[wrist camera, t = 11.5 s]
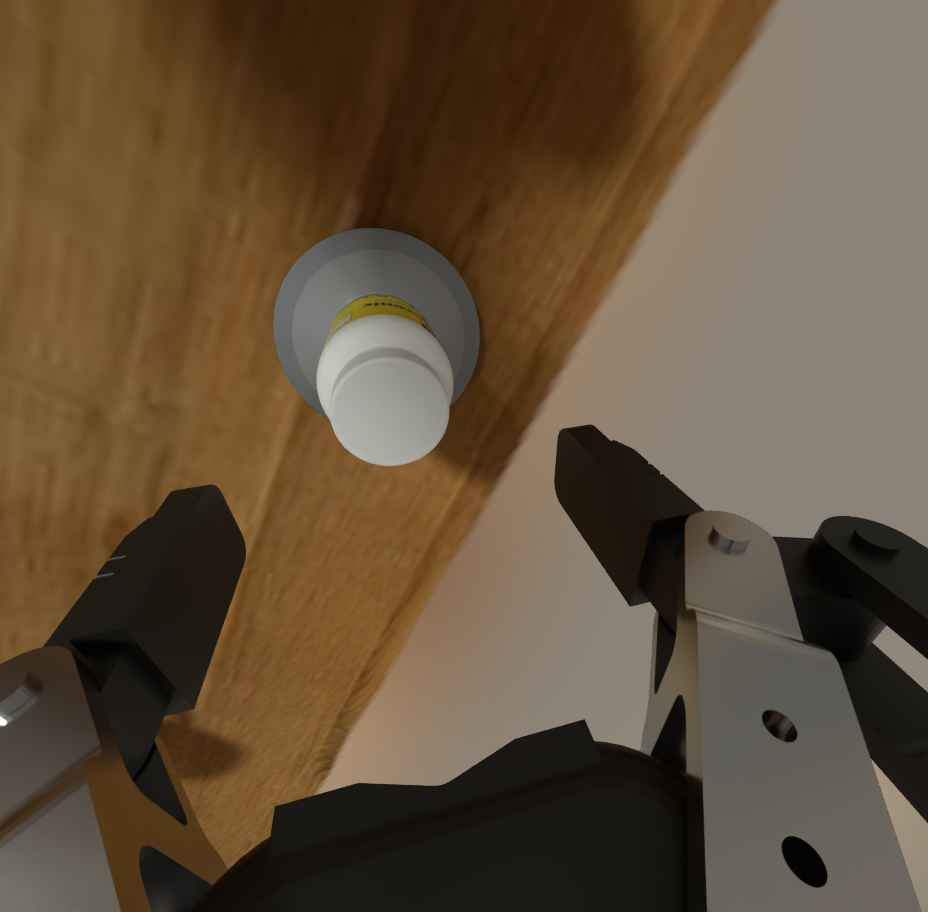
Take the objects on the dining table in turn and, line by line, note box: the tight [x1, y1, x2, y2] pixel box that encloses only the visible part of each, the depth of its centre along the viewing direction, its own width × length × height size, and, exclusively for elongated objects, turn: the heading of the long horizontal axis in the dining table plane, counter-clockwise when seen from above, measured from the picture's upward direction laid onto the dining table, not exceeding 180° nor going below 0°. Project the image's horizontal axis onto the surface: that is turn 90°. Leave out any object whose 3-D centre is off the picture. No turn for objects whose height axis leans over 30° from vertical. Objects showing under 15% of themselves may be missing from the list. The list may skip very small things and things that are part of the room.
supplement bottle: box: [316, 293, 453, 466], centre depth 17 cm, size 5×5×10 cm
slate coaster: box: [273, 228, 480, 419], centre depth 22 cm, size 11×11×1 cm
